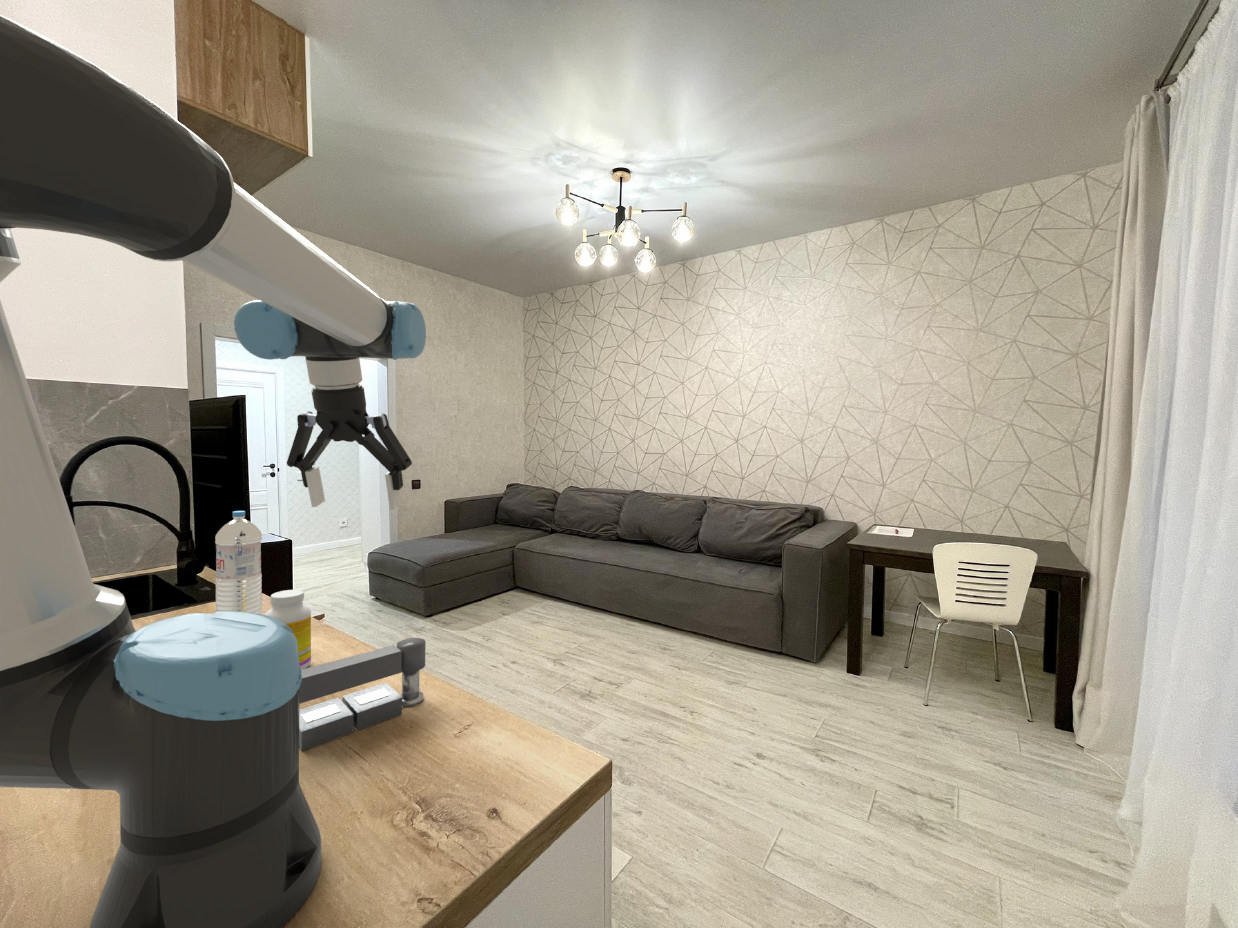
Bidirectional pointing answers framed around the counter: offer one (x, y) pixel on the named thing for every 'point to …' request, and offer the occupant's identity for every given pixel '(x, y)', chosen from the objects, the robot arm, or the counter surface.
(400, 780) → the counter surface
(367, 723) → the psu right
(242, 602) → the water bottle
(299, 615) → the supplement bottle
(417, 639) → the cable arm
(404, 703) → the pivot post
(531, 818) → the counter surface
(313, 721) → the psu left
